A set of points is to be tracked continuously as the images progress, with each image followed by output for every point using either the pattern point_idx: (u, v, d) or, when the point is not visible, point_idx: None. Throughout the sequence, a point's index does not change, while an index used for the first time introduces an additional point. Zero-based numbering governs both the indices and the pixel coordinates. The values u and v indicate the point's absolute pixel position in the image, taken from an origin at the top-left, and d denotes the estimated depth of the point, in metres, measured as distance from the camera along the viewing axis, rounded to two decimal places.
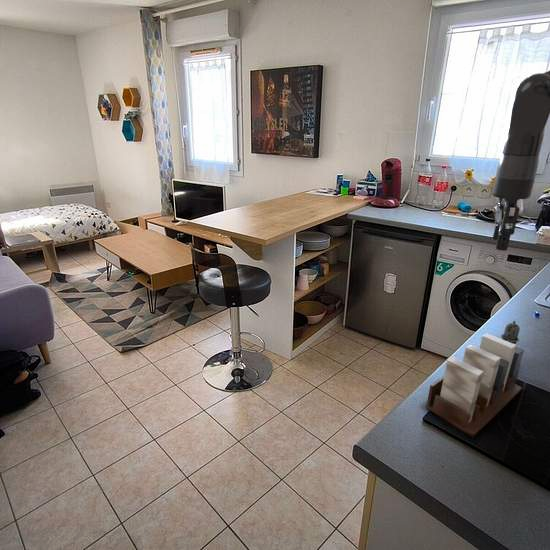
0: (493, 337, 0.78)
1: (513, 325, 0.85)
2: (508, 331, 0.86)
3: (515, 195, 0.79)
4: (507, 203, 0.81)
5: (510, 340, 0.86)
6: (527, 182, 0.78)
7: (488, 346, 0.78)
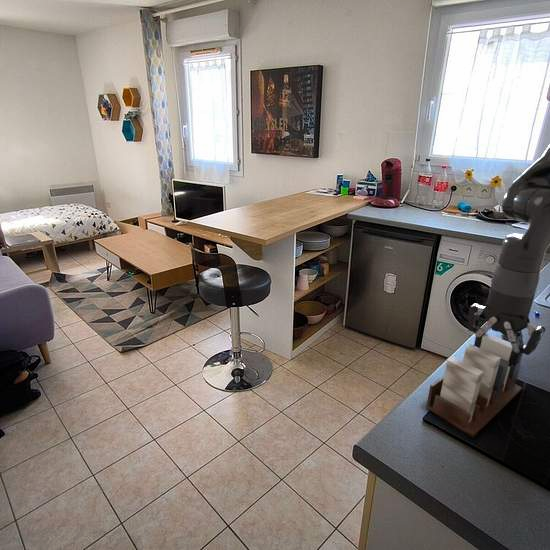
0: (493, 337, 0.78)
1: None
2: None
3: (529, 310, 0.70)
4: (525, 320, 0.71)
5: None
6: None
7: (488, 346, 0.78)
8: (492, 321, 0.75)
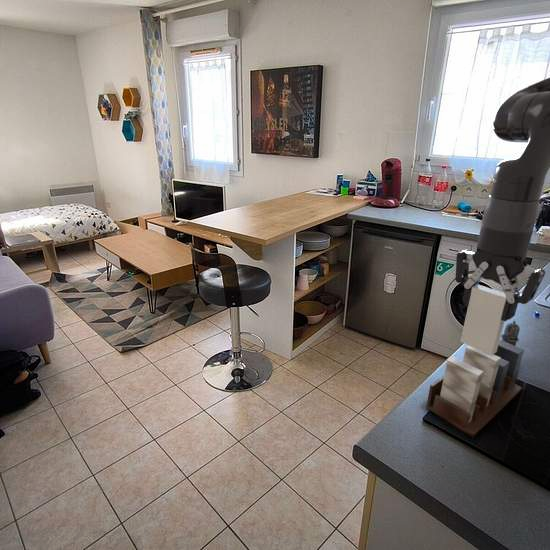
0: (484, 288, 0.67)
1: (513, 325, 0.85)
2: (508, 331, 0.86)
3: (527, 250, 0.60)
4: (521, 262, 0.60)
5: (510, 340, 0.86)
6: None
7: (479, 299, 0.67)
8: (483, 267, 0.64)
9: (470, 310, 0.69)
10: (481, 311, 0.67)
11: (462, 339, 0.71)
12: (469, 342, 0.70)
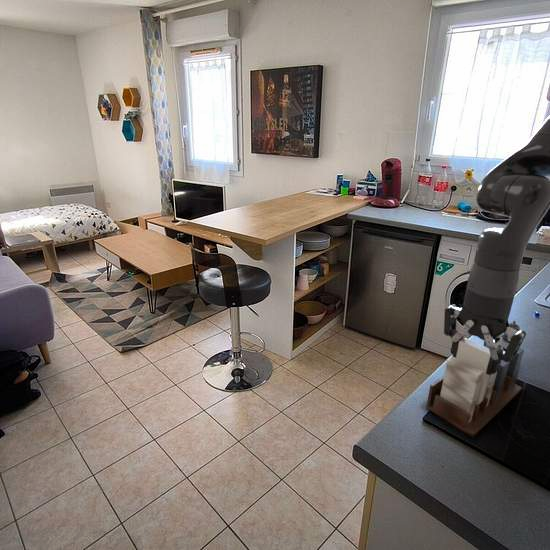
0: (471, 342, 0.71)
1: (513, 325, 0.85)
2: None
3: (509, 312, 0.64)
4: (504, 324, 0.64)
5: None
6: None
7: (465, 352, 0.71)
8: (469, 324, 0.68)
9: None
10: None
11: None
12: None
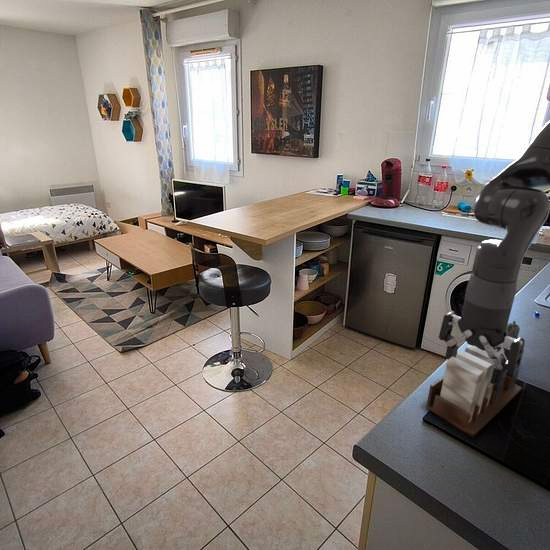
0: (468, 355, 0.72)
1: (513, 325, 0.85)
2: (508, 331, 0.86)
3: (507, 323, 0.64)
4: (501, 334, 0.65)
5: None
6: None
7: None
8: (467, 334, 0.69)
9: None
10: None
11: None
12: None
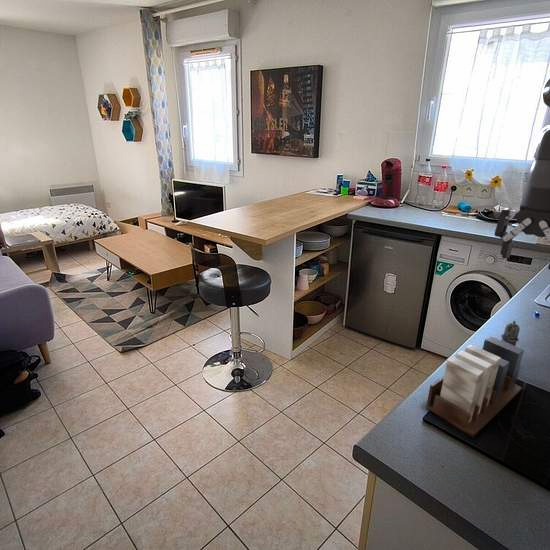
0: (468, 355, 0.72)
1: (513, 325, 0.85)
2: (508, 331, 0.86)
3: None
4: None
5: (510, 340, 0.86)
6: None
7: None
8: (526, 223, 0.72)
9: None
10: None
11: None
12: None
